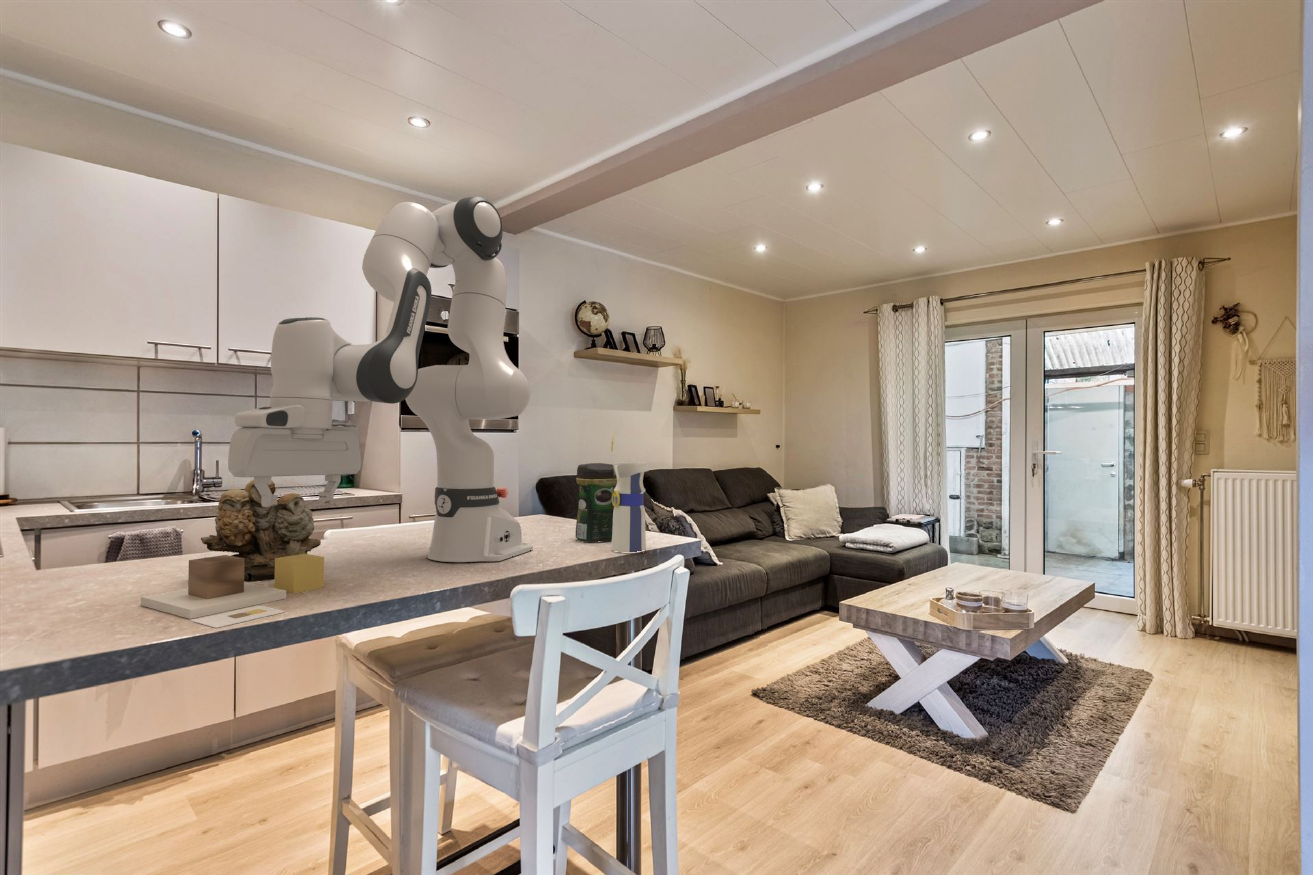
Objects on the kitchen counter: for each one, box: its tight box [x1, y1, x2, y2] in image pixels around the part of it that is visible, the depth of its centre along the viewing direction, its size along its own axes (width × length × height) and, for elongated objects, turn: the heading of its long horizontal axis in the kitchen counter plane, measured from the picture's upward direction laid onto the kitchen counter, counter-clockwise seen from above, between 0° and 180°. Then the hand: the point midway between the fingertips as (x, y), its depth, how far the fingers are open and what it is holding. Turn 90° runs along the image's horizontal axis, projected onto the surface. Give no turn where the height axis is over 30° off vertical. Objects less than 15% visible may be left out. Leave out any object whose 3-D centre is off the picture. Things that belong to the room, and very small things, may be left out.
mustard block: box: [273, 553, 325, 594], centre depth 105 cm, size 5×5×5 cm
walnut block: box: [187, 554, 245, 599], centre depth 96 cm, size 5×5×5 cm
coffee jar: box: [575, 462, 617, 543], centre depth 158 cm, size 10×8×19 cm
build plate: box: [140, 581, 287, 620], centre depth 96 cm, size 13×13×1 cm
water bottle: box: [610, 437, 650, 552], centre depth 144 cm, size 8×9×25 cm
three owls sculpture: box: [200, 478, 322, 582], centre depth 115 cm, size 18×12×17 cm, turn 133°
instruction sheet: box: [190, 604, 286, 629], centre depth 88 cm, size 9×6×1 cm, turn 152°
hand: (298, 504), depth 104 cm, fingers open, 8 cm apart
